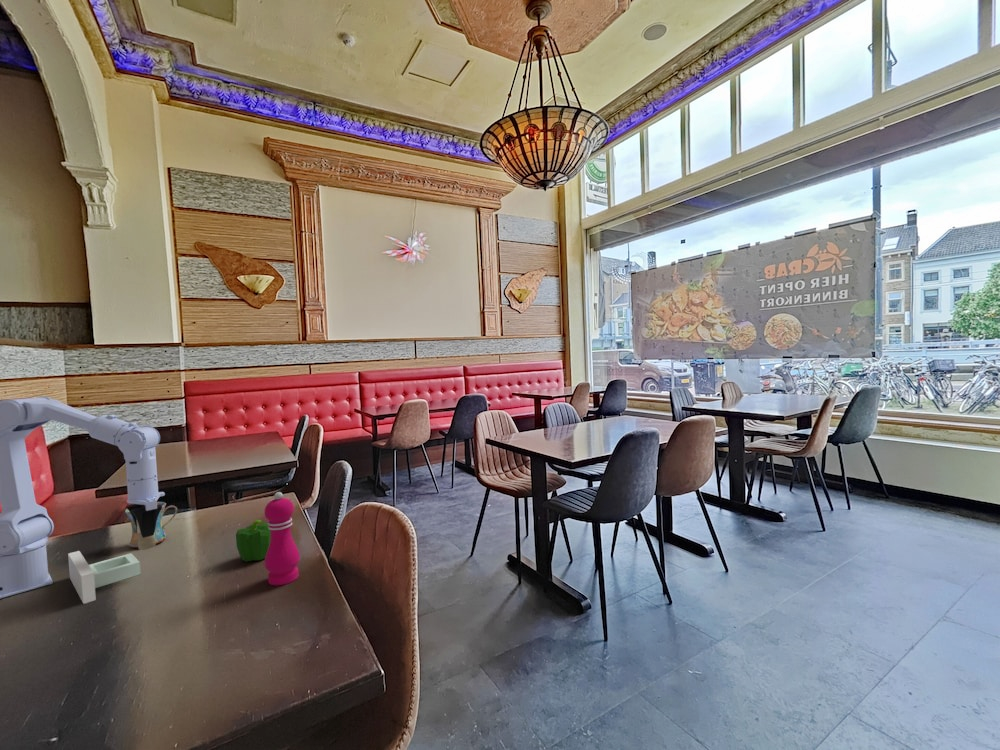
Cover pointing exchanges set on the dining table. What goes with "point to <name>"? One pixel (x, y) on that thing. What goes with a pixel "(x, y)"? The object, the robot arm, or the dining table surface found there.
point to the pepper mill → (281, 542)
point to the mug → (158, 529)
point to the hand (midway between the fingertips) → (146, 534)
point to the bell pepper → (253, 541)
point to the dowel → (145, 540)
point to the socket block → (115, 569)
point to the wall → (82, 577)
